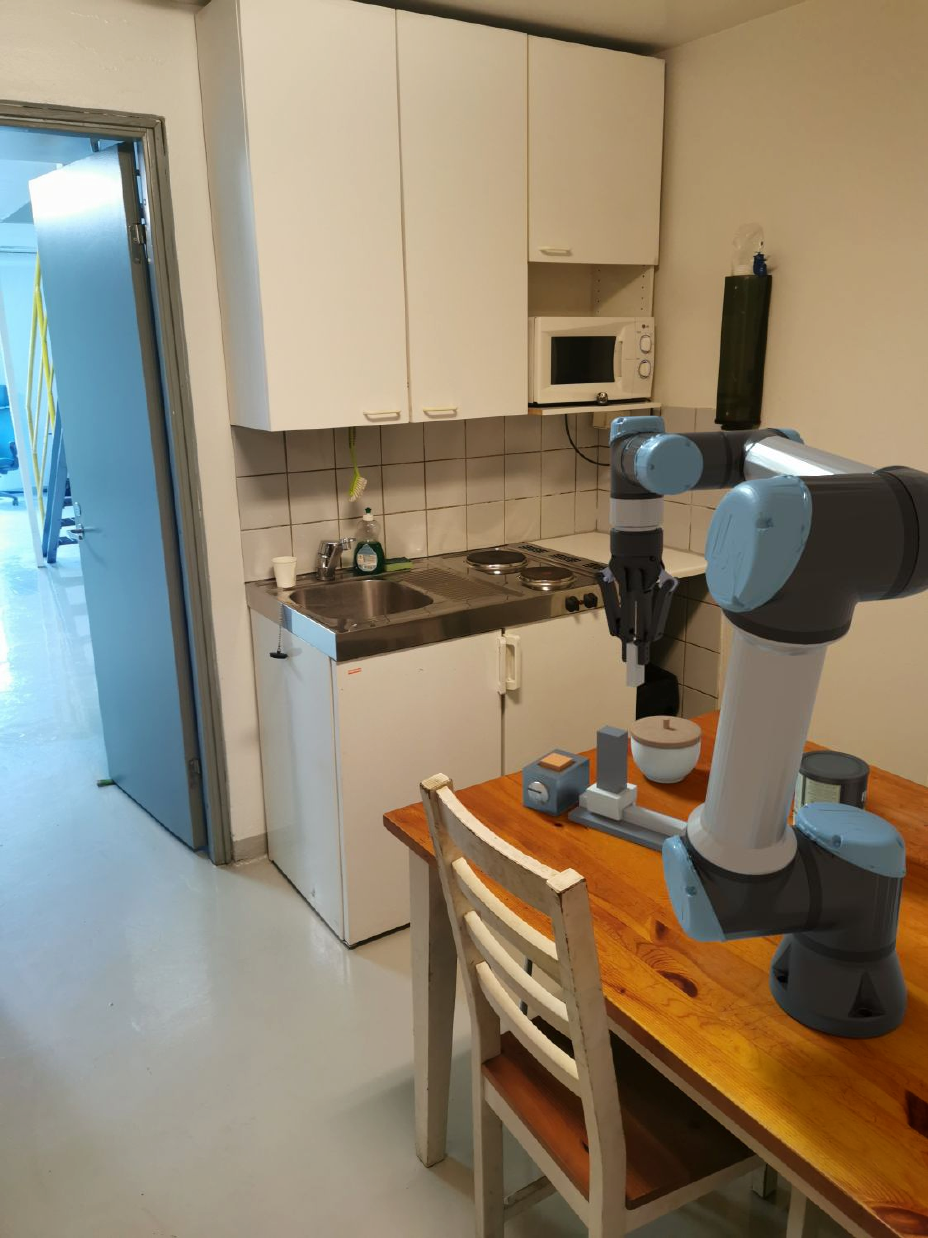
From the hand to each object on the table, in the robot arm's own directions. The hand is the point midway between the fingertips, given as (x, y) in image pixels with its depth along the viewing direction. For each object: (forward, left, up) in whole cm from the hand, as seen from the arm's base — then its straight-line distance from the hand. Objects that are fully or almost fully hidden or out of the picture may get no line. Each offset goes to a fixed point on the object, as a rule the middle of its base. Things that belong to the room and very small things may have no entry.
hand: (635, 684), depth 137 cm
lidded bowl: (+25, +8, -27) cm, 38 cm away
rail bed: (+5, +3, -27) cm, 28 cm away
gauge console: (+5, +18, -27) cm, 33 cm away
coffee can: (+17, -24, -27) cm, 40 cm away
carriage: (+5, +7, -25) cm, 27 cm away
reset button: (+5, +18, -23) cm, 30 cm away
